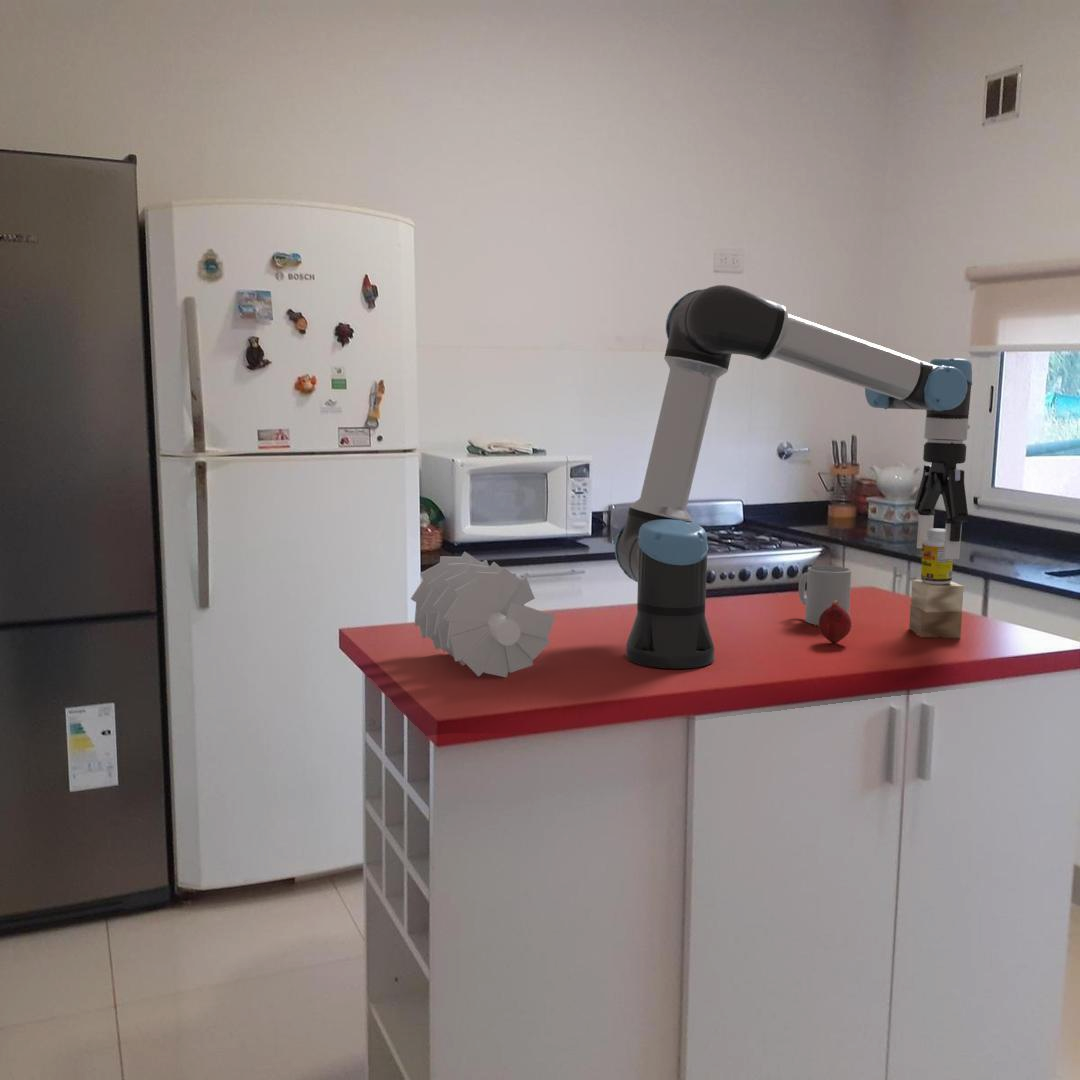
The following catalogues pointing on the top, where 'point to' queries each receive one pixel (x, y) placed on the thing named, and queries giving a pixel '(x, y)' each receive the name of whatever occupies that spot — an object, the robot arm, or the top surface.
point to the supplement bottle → (935, 559)
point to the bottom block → (935, 623)
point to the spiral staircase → (480, 615)
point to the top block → (937, 597)
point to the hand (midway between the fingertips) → (937, 553)
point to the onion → (834, 623)
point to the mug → (824, 590)
